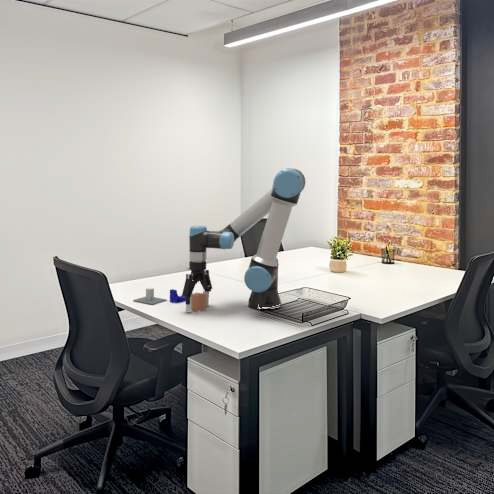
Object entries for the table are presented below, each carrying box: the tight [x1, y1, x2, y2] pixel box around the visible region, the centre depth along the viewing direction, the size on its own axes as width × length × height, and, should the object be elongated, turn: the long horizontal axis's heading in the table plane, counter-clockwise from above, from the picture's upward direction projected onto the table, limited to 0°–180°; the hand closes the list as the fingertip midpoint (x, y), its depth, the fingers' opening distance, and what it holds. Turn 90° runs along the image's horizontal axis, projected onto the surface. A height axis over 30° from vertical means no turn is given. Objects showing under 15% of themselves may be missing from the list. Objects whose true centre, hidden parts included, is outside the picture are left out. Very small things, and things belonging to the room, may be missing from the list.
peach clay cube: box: [191, 292, 207, 312], centre depth 235 cm, size 5×5×7 cm
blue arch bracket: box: [169, 289, 186, 304], centre depth 250 cm, size 12×4×6 cm, turn 142°
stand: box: [132, 287, 167, 306], centre depth 248 cm, size 12×10×6 cm
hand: (197, 308), depth 235 cm, fingers open, 12 cm apart
